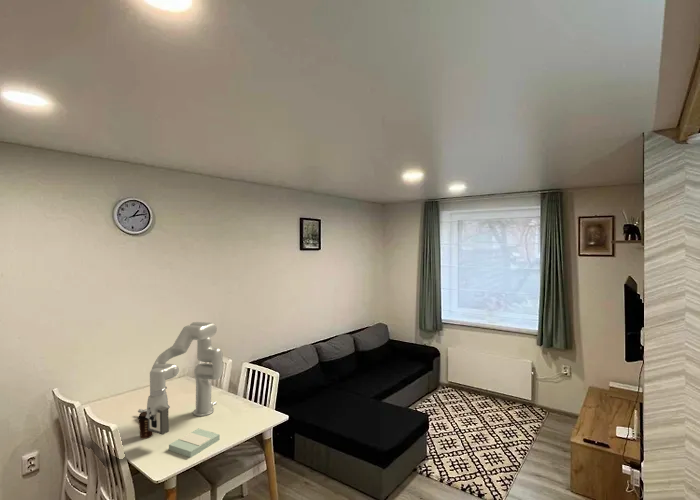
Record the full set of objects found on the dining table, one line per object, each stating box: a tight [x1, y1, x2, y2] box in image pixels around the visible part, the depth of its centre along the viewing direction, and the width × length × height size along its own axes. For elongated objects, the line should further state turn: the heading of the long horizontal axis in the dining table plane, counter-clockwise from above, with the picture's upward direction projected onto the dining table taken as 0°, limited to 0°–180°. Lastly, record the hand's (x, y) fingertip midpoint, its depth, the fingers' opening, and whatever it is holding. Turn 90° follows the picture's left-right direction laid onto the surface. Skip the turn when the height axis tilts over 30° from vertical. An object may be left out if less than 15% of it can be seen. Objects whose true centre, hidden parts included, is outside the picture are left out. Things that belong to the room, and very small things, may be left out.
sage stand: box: [168, 428, 220, 458], centre depth 207 cm, size 20×16×3 cm
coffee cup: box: [137, 411, 154, 440], centre depth 216 cm, size 9×8×13 cm
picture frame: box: [148, 407, 170, 436], centre depth 205 cm, size 4×11×13 cm, turn 65°
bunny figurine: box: [137, 408, 147, 414], centre depth 238 cm, size 10×5×15 cm
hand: (158, 424), depth 206 cm, fingers closed on picture frame, 4 cm apart
